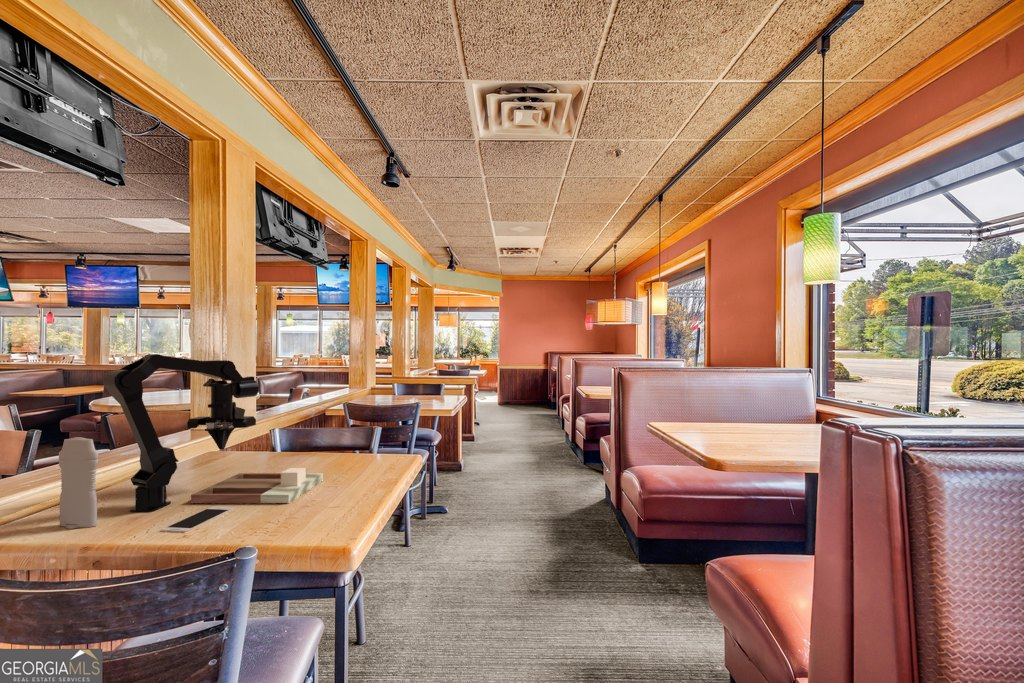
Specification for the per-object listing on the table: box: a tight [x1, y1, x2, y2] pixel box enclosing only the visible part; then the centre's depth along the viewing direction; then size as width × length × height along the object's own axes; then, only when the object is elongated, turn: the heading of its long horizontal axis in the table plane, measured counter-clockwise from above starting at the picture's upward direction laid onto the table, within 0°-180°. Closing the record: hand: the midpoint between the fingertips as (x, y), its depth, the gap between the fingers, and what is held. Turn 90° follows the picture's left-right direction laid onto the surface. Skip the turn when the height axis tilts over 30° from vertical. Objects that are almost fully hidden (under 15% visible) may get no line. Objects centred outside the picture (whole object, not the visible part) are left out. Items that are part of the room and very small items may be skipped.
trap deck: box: [190, 472, 324, 504], centre depth 133 cm, size 21×28×2 cm
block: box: [280, 467, 307, 486], centre depth 133 cm, size 5×5×4 cm
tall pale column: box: [58, 436, 99, 530], centre depth 109 cm, size 11×4×22 cm, turn 84°
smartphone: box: [160, 506, 236, 533], centre depth 112 cm, size 7×16×1 cm, turn 173°
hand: (222, 449), depth 137 cm, fingers closed
